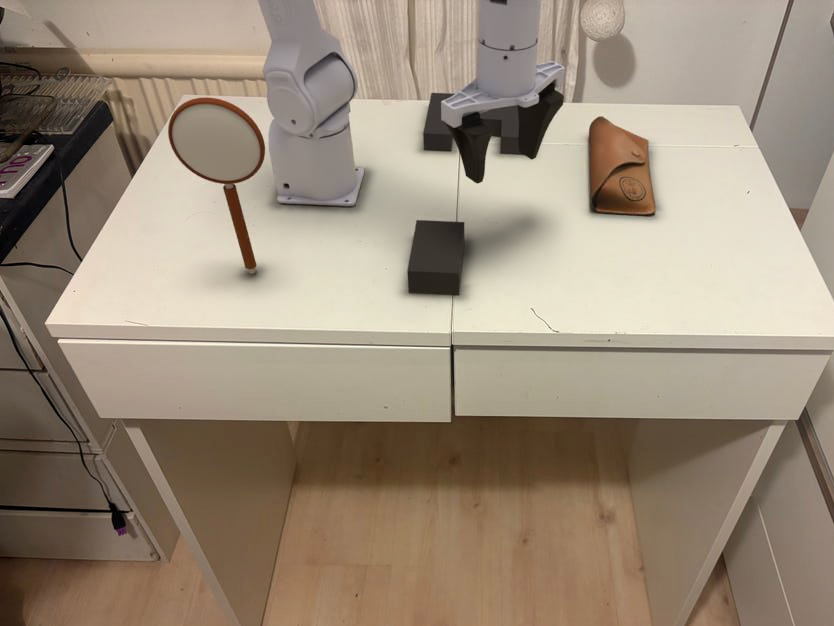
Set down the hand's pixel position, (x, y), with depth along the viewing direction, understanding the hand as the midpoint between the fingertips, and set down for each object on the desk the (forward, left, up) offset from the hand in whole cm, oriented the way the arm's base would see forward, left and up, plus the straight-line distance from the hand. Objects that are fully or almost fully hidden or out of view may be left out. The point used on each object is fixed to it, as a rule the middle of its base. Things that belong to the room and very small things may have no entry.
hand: (501, 166), depth 76 cm
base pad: (-3, +24, -9) cm, 26 cm away
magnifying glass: (-26, -9, -9) cm, 29 cm away
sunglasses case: (+16, +14, -9) cm, 23 cm away
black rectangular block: (-6, -6, -9) cm, 13 cm away
